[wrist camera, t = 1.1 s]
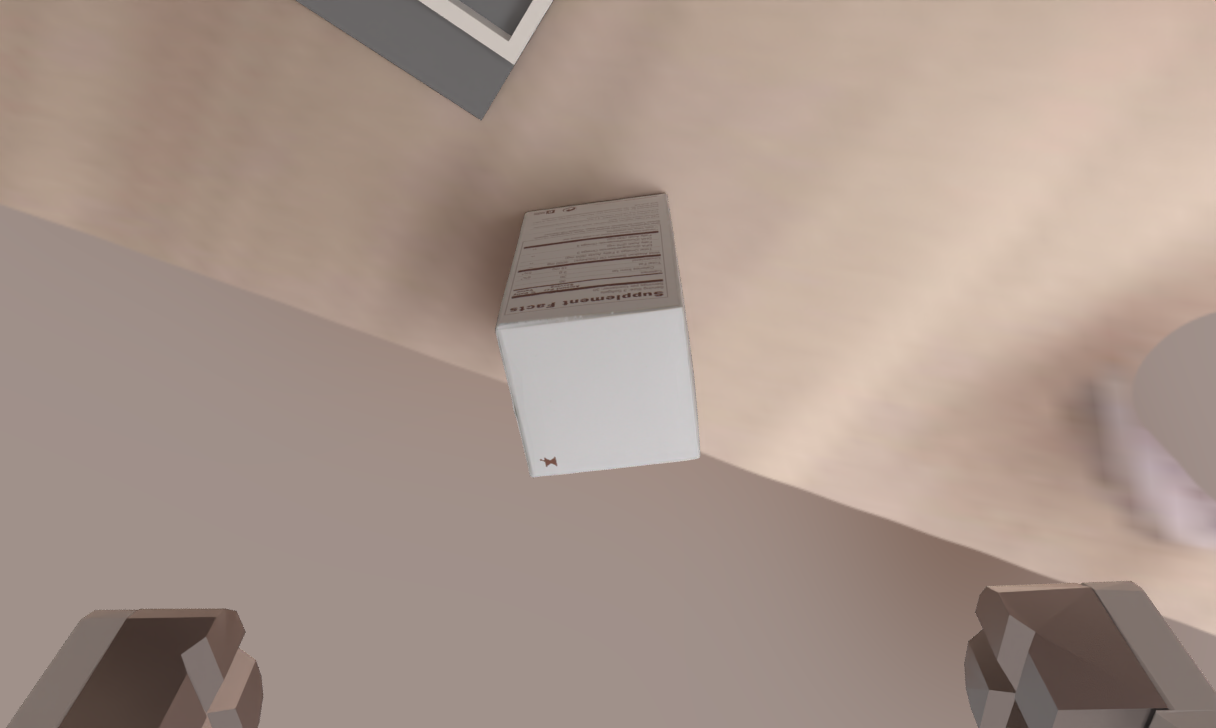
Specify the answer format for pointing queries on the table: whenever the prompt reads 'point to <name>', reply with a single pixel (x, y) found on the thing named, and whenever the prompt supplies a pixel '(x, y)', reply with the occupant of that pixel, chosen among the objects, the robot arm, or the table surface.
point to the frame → (492, 25)
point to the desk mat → (431, 43)
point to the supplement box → (599, 339)
